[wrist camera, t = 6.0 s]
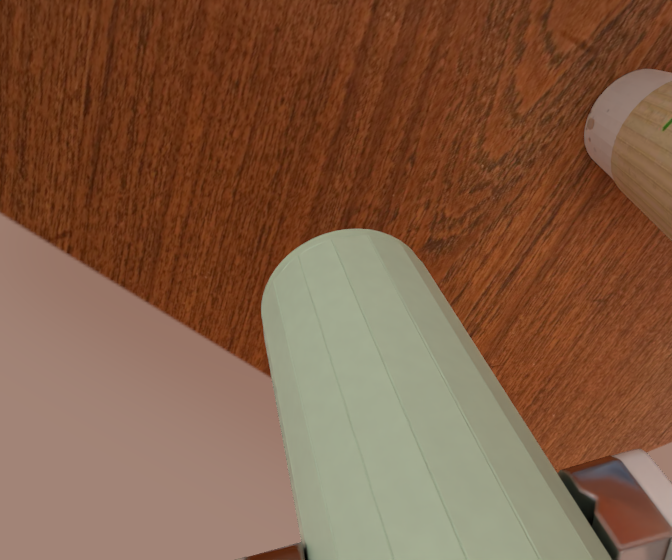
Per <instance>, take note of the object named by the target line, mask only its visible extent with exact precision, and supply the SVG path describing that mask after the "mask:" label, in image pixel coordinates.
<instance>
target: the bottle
mask: <svg viewBox="0 0 672 560" xmlns="http://www.w3.org/2000/svg"><path fill="white" fill-rule="evenodd" d="M261 316H262V322H263V330H264V339H265V344H266V350H267V355H268V361H269V366H270V372H271V377H272V383H273V388H274V393H275V399H276V405H277V410H278V416H279V421H280V427H281V432H282V437H283V443H284V448H285V454H286V460H287V465H288V471H289V476H290V481H291V487H292V492H293V498H294V503H295V510H296V515H297V520H298V526H299V531H300V537H301V542H303V545H304V548H305V552H306V558H307V560H612V559H611V557H610V555H609V554H608V552H607V551H606V549H605V548H604V546H603V544H602V543H601V541H600V540H599V538H598V537H597V535H596V533H595V532H594V530H593V529H592V527H591V526H590V524H589V523H588V521H587V519H586V518H585V516H584V515H583V513H582V512H581V510H580V508H579V507H578V505H577V504H576V502H575V501H574V499H573V497H572V496H571V494H570V493H569V491H568V490H567V488H566V486H565V485H564V483H563V482H562V480H561V479H560V477H559V476H558V474H557V472H556V471H555V469H554V468H553V466H552V465H551V463H550V461H549V460H548V458H547V457H546V455H545V454H544V452H543V450H542V449H541V447H540V446H539V444H538V443H537V441H536V439H535V438H534V436H533V435H532V433H531V432H530V430H529V428H528V427H527V425H526V424H525V422H524V421H523V419H522V418H521V416H520V414H519V413H518V411H517V410H516V408H515V407H514V405H513V403H512V402H511V400H510V399H509V397H508V396H507V394H506V392H505V391H504V389H503V388H502V386H501V385H500V383H499V381H498V380H497V378H496V377H495V375H494V374H493V372H492V371H491V369H490V367H489V366H488V364H487V363H486V361H485V360H484V358H483V356H482V355H481V353H480V352H479V350H478V349H477V347H476V345H475V344H474V342H473V341H472V339H471V338H470V336H469V334H468V333H467V331H466V330H465V328H464V327H463V325H462V324H461V322H460V320H459V319H458V317H457V316H456V314H455V313H454V311H453V309H452V308H451V306H450V305H449V303H448V302H447V300H446V298H445V297H444V295H443V294H442V292H441V291H440V289H439V287H438V286H437V284H436V283H435V281H434V280H433V278H432V277H431V275H430V273H429V272H428V270H427V269H426V267H425V266H424V264H423V263H422V261H421V260H419V259H418V257H417V256H416V255H415V253H414V252H413V251H412V250H411V249H410V248H409V247H408V246H407V245H406V244H404V243H403V242H401V241H400V240H398V239H396V238H394V237H393V236H391V235H388V234H385V233H382V232H379V231H374V230H369V229H344V230H338V231H333V232H330V233H326V234H323V235H320V236H318V237H315V238H313V239H311V240H309V241H307V242H306V243H304V244H302V245H300V246H299V247H298V248H296V249H295V250H293V251H292V252H291V253H290V254H289V255H288V256H287V257H285V258H284V259H283V260H282V262H281V263H280V264H279V265H278V266H277V267H276V269H275V270H274V272H273V273H272V275H271V277H270V278H269V281H268V283H267V285H266V287H265V290H264V293H263V297H262V304H261Z"/></svg>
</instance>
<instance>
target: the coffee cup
mask: <svg viewBox="0 0 672 560" xmlns="http://www.w3.org/2000/svg"><path fill="white" fill-rule="evenodd" d="M584 141H585V147H586V150H587V152H588V154H589V156H590V157H591V159H592V160H593V161H595V162H596V163H597V164H598V165H599V166H600V167H601V168H602V169H603V170H604V171H605V172H606V173H607V174H608V175H609V176H610V177H611V178H612V179H613V180H614V182H615V183H616V185H617V187H618V188H619V189H620V190H621V191H622V192H623V193H624V194H625V195H626V196H627V197H628V198H629V199H630V200H631V201H632V202H633V203H634V204H635V205H636V206H637V207H638V208H639V209H640V210H641V211H642V212H643V213H644V214H645V215H646V216H647V217H648V218H649V219H650V220H651V221H652V222H653V223H654V224H655V225H656V226H657V227H658V228H659V229H660V230H661V231H662V232H663V233H664V234H665V235H666V236H667V237H668V238H669V239H670V240H671V241H672V73H670V72H665V71H660V70H655V69H641V70H636V71H633V72H631V73H628V74H626V75H624V76H622V77H621V78H619V79H617V80H616V81H614V82H613V83H612V84H611V85H610V86H609V87H607V88H606V89H605V91H604V92H603V93H602V94H601V95H600V96H599V97H598V99H597V100H596V102H595V103H594V105H593V107H592V109H591V111H590V113H589V115H588V118H587V121H586V125H585V131H584Z"/></svg>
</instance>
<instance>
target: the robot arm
mask: <svg viewBox="0 0 672 560" xmlns="http://www.w3.org/2000/svg"><path fill="white" fill-rule="evenodd" d="M557 474H558V476H559V477H560V479H561V480H562V482H563V483H564V485H565V486H566V488H567V490H568V491H569V493H570V494H571V496H572V497H573V499H574V501H575V502H576V504H577V505H578V507H579V508H580V510H581V512H582V513H583V515H584V516H585V518H586V519H587V521H588V523H589V524H590V526H591V527H592V529H593V530H594V532H595V533H596V535H597V537H598V538H599V540H600V541H601V543H602V544H603V546H604V548H605V549H606V551H607V552H608V554H609V555H610V557H611V559H612V560H672V482H671V481H670V480H669V479H668V478H667V476H666V475H665V474H664V473H663V471H661V469H660V468H659V467H658V465H657V464H656V463H655V462H654V461H653V459H652V458H651V457H650V456H649V455H648V453H646V452H645V451H643V450H641V449H633V450H629V451H626V452H622V453H619V454H615V455H612V456H606V457H603V458H600V459H596V460H593V461H589V462H586V463H583V464H579V465H576V466H573V467H569V468H566V469H563V470H560V471H559V472H558V473H557ZM236 560H307V558H306V552H305V548H304V545H303V542H300V543H297V544H293V545H289V546H286V547H282V548H278V549H275V550H271V551H268V552H264V553H260V554H257V555H253V556H249V557H243V558H240V559H236Z"/></svg>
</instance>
